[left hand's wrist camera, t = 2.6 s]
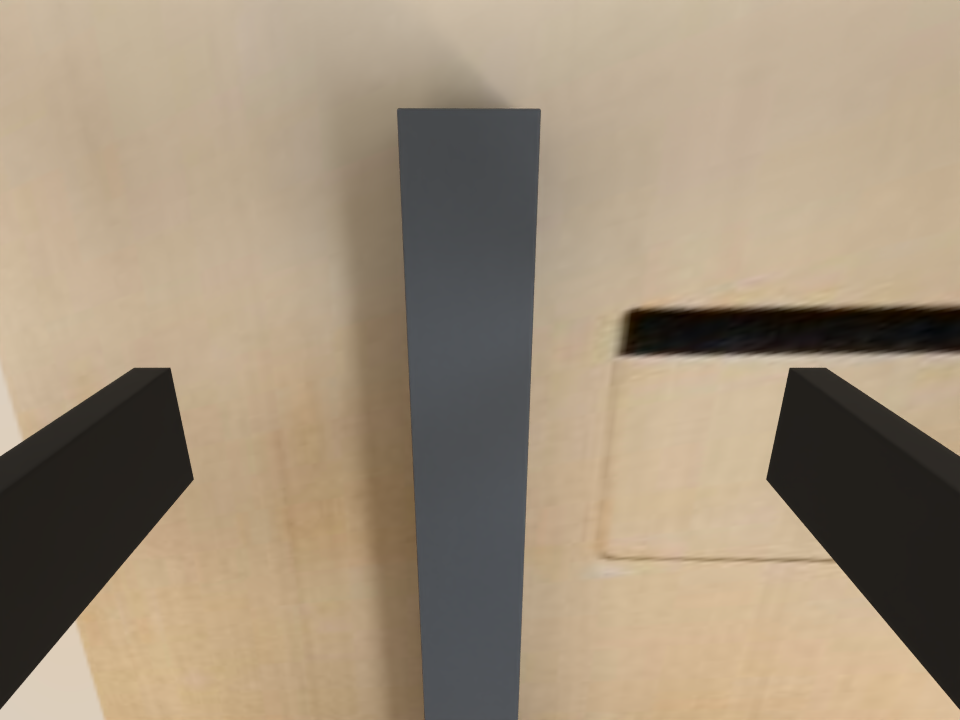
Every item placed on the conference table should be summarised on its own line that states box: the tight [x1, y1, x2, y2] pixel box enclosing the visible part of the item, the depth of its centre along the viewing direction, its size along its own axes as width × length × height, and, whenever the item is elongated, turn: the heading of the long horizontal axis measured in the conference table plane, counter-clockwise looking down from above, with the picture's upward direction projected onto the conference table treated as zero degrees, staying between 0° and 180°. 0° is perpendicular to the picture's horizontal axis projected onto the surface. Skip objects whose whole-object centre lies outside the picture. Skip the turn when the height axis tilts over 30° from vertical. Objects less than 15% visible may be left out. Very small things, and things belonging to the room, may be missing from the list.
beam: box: [397, 108, 541, 720], centre depth 31 cm, size 52×5×8 cm, turn 0°
